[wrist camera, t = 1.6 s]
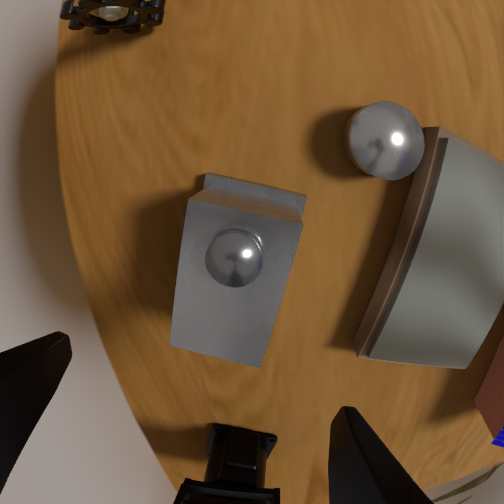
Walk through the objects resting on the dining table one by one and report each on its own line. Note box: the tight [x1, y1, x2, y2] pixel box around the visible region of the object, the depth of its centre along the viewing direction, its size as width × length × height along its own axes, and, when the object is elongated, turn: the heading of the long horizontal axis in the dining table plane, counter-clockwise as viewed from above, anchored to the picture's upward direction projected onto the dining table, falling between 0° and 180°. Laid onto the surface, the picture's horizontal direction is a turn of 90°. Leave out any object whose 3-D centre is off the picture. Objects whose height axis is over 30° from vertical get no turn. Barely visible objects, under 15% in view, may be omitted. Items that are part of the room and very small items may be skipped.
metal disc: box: [343, 101, 424, 180], centre depth 15 cm, size 4×4×2 cm
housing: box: [170, 173, 307, 367], centre depth 17 cm, size 9×6×7 cm, turn 168°
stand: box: [352, 127, 504, 369], centre depth 17 cm, size 16×11×2 cm
